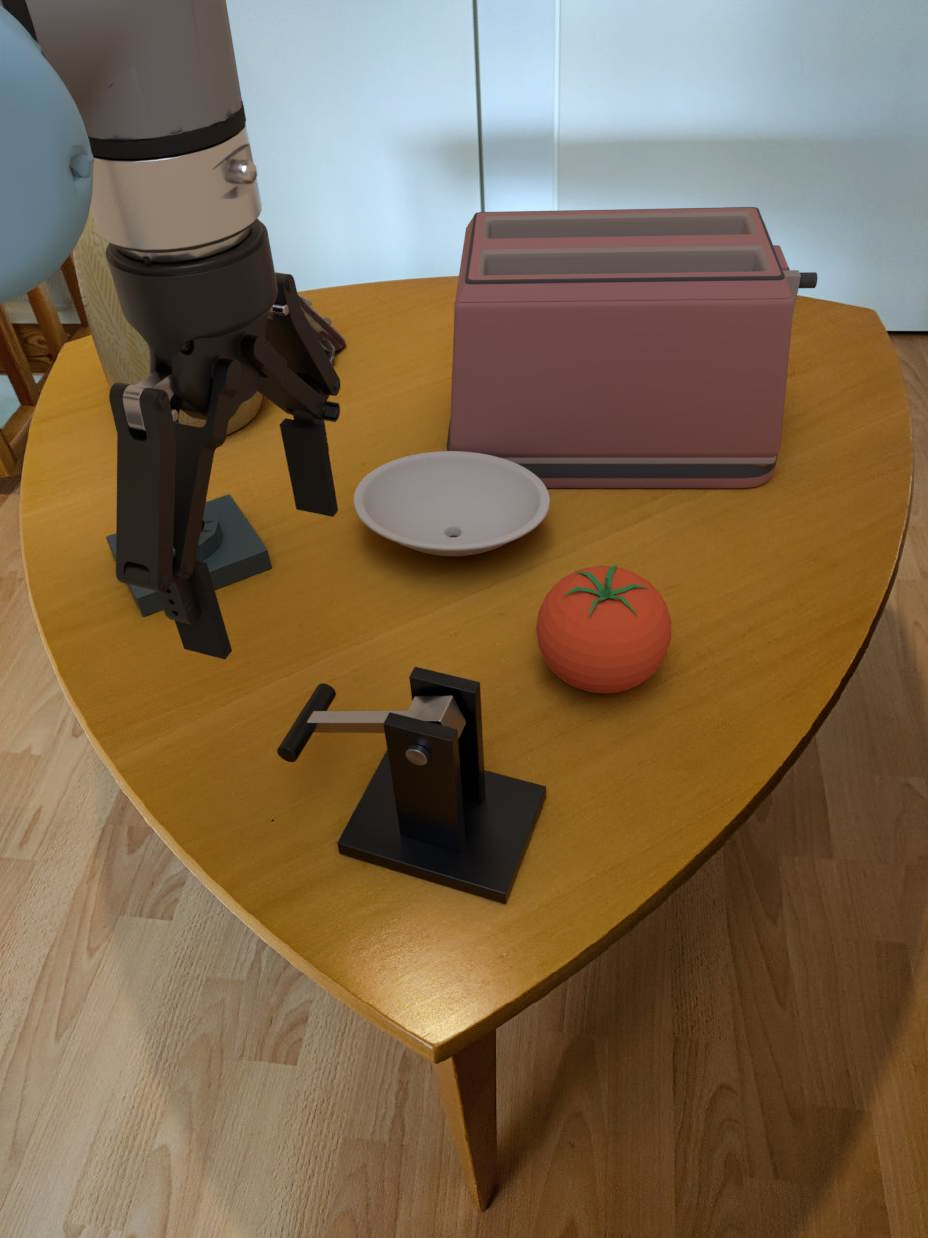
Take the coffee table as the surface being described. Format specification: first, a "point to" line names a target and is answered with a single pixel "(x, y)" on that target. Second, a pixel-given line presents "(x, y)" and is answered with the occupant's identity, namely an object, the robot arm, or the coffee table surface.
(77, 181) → the robot arm
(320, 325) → the chocolate cake
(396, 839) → the bracket
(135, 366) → the vase
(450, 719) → the lever
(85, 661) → the coffee table surface
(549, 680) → the coffee table surface
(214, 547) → the control block
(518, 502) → the dish
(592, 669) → the tomato
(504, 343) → the toaster
